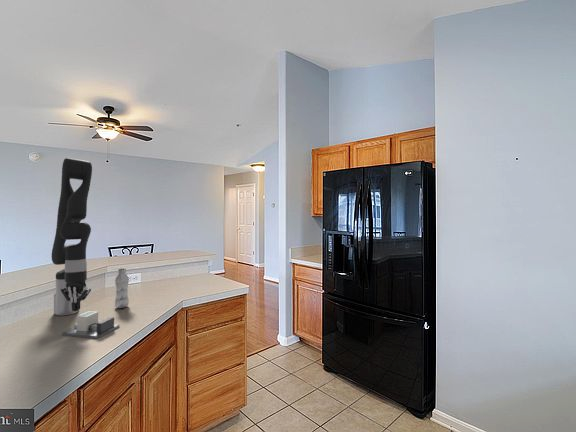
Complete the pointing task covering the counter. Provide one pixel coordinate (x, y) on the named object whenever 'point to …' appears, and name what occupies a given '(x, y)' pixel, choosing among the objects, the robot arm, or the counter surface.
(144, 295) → the counter surface
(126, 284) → the plastic bottle
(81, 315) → the block
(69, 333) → the rail plate
